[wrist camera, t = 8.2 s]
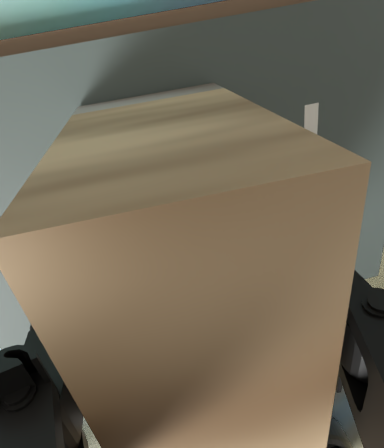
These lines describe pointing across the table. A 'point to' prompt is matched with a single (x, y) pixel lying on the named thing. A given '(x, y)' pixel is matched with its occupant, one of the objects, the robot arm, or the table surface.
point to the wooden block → (190, 269)
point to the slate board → (198, 75)
